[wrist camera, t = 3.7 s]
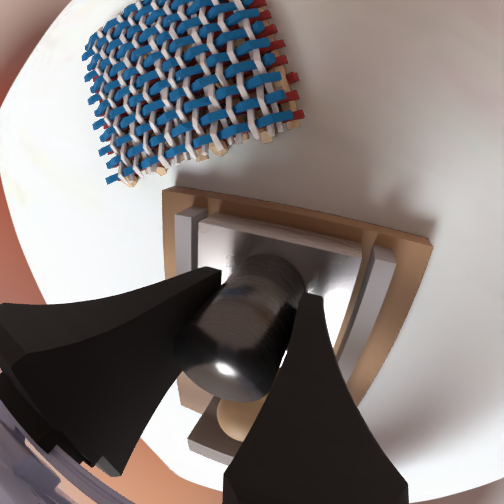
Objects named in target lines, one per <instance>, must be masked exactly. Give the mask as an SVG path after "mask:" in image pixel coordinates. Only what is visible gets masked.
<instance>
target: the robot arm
mask: <svg viewBox="0 0 504 504" xmlns="http://www.w3.org/2000/svg"><path fill="white" fill-rule="evenodd" d="M221 284H222V270H219V269H216V268H212V267H208V266H205V267H201V268H197V269H194V270H192V271H189V272H186V273H183V274H180V275H178V276H175V277H172V278H169V279H167V280H164V281H161V282H158V283H155V284H152V285H149V286H146V287H143V288H140V289H136V290H133V291H130V292H127V293H123V294H119V295H115V296H110V297H106V298H101V299H96V300H89V301H82V302H75V303H66V304H50V305H28V304H13V303H2V304H0V368H1V370H2V371H3V372H2V373H1V374H0V504H78V503H76V502H75V501H74V500H72V499H71V498H70V497H69V496H68V495H66V494H65V493H64V492H63V491H62V490H60V489H59V488H58V487H57V485H58V484H59V483H60V482H61V480H60V478H59V477H58V476H57V475H56V473H55V472H54V471H53V470H52V469H51V468H50V467H48V465H46V463H44V462H43V461H42V460H41V459H40V458H39V457H38V456H37V455H36V454H35V453H34V452H33V451H32V450H31V449H29V448H28V447H27V446H26V445H25V437H26V438H27V439H28V441H29V442H30V443H31V444H32V445H33V446H34V447H35V448H36V450H38V452H39V453H40V454H41V455H42V456H43V457H44V458H45V459H46V460H47V461H48V462H49V463H50V464H51V465H52V466H53V467H54V468H55V469H56V470H58V471H59V472H60V473H61V474H62V475H63V476H64V477H65V478H66V479H68V480H69V481H70V482H71V483H72V484H73V485H75V486H76V487H77V488H78V489H79V490H81V491H82V492H83V493H84V494H86V495H87V496H88V497H90V498H91V499H92V500H93V501H95V502H96V503H97V504H135V503H133V502H132V501H130V500H128V499H127V498H125V497H124V496H122V495H120V494H119V493H117V492H116V491H114V490H113V489H111V488H110V487H109V486H107V485H106V484H104V483H103V482H102V481H100V480H99V479H97V478H96V477H95V476H93V475H92V474H91V473H89V472H88V471H87V470H86V469H84V468H83V467H82V466H81V465H80V463H82V461H84V462H85V463H86V464H88V465H89V466H90V467H91V468H92V467H94V466H97V467H98V468H99V469H101V470H102V471H103V472H105V473H106V474H108V475H109V476H111V477H117V476H121V475H122V473H123V471H124V468H125V466H126V464H127V462H128V460H129V458H130V456H131V454H132V452H133V449H134V448H135V445H136V444H137V442H138V440H139V438H140V436H141V434H142V433H143V431H144V429H145V427H146V425H147V424H148V422H149V420H150V419H151V417H152V415H153V413H154V412H155V410H156V408H157V407H158V405H159V404H160V402H161V400H162V399H163V397H164V396H165V394H166V392H167V391H168V389H169V388H170V387H171V385H172V384H173V382H174V381H175V380H176V379H177V377H178V376H179V375H180V374H181V372H182V371H183V370H182V369H181V367H180V366H179V364H178V362H177V360H176V358H175V355H174V350H173V344H174V339H175V337H176V335H177V334H178V333H179V331H180V330H181V329H182V328H183V327H184V326H185V325H186V324H187V323H188V321H189V320H190V319H191V318H192V317H193V316H194V315H195V314H196V313H197V311H198V310H199V309H200V308H201V307H202V306H203V305H204V304H205V303H206V301H207V300H208V299H209V298H210V297H211V296H212V295H213V294H214V293H215V291H216V290H217V289H218V288H219V287H220V286H221ZM222 504H409V496H408V483H407V482H406V481H405V479H404V478H403V477H402V476H401V474H400V473H399V472H398V471H397V469H396V468H395V467H394V465H393V464H392V463H391V462H390V460H389V459H388V458H387V456H386V455H385V453H384V452H383V450H382V449H381V447H380V446H379V444H378V443H377V441H376V440H375V438H374V437H373V435H372V433H371V432H370V430H369V428H368V426H367V424H366V423H365V421H364V419H363V417H362V415H361V414H360V412H359V410H358V408H357V407H356V405H355V403H354V400H353V398H352V396H351V394H350V392H349V390H348V388H347V385H346V383H345V380H344V378H343V376H342V373H341V370H340V368H339V365H338V362H337V359H336V356H335V353H334V350H333V346H332V343H331V339H330V335H329V331H328V327H327V322H326V316H325V309H324V299H323V297H322V296H319V295H315V294H311V293H307V292H303V294H302V296H301V298H300V300H299V303H298V307H297V312H296V316H295V320H294V325H293V329H292V333H291V337H290V341H289V345H288V349H287V353H286V355H285V358H284V360H283V362H282V365H281V367H280V369H279V372H278V374H277V376H276V378H275V380H274V383H273V385H272V387H271V389H270V391H269V393H268V395H267V398H266V400H265V402H264V404H263V406H262V408H261V410H260V411H259V413H258V415H257V417H256V419H255V421H254V423H253V425H252V427H251V429H250V430H249V432H248V434H247V436H246V438H245V439H244V441H243V443H242V445H241V446H240V448H239V450H238V451H237V453H236V455H235V456H234V458H233V460H232V461H231V463H230V465H229V466H228V468H227V469H226V471H225V473H224V477H223V503H222Z"/></svg>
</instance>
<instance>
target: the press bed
mask: <svg viewBox="0 0 504 504" xmlns="http://www.w3.org/2000/svg"><path fill="white" fill-rule="evenodd" d="M215 212H220V213H225V214H230V215H235V216H240V217H245V218H250V219H255V220H260V221H265V222H269V223H274V224H279V225H284V226H288V227H293V228H298V229H302V230H307V231H311V232H316V233H320V234H324V235H329V236H333V237H338V238H342V239H346V240H350V241H355V242H359V243H361V249H362V260H361V264H360V268H359V271H358V274H357V278H356V281H355V284H354V288H353V291H352V294H351V297H350V300H349V304H348V307H347V310H346V313H345V316H344V318H343V321H342V324H341V327H340V330H339V333H338V335H337V338H336V341H335V344H334V346H333V350H334V353H335V356H336V359H337V362H338V365H339V368H340V370H341V373H342V376H343V378H344V380H345V383H346V385H347V388H348V390H349V392H350V394H351V396H352V398H353V400H354V403H355V405H356V407H357V406H358V405H359V403H360V401H361V400H362V398H363V397H364V395H365V393H366V392H367V390H368V389H369V387H370V385H371V384H372V382H373V380H374V378H375V377H376V375H377V373H378V372H379V370H380V368H381V366H382V364H383V363H384V361H385V359H386V357H387V355H388V353H389V351H390V349H391V347H392V346H393V344H394V342H395V340H396V338H397V336H398V333H399V331H400V329H401V327H402V325H403V323H404V321H405V319H406V316H407V314H408V312H409V310H410V307H411V305H412V303H413V300H414V298H415V296H416V293H417V291H418V288H419V286H420V283H421V280H422V278H423V275H424V272H425V270H426V267H427V264H428V261H429V258H430V255H431V252H432V249H433V246H432V244H431V243H430V241H429V240H428V238H424V237H420V236H417V235H413V234H409V233H406V232H402V231H398V230H394V229H390V228H386V227H382V226H378V225H374V224H370V223H366V222H362V221H357V220H353V219H349V218H345V217H340V216H336V215H331V214H327V213H322V212H317V211H313V210H308V209H303V208H298V207H293V206H288V205H283V204H278V203H273V202H267V201H262V200H257V199H251V198H245V197H240V196H234V195H228V194H222V193H216V192H209V191H203V190H196V189H190V188H183V187H176V186H174V187H171V188H168V189H165V190H162V219H163V248H164V267H165V280H167V279H169V278H172V277H175V276H178V275H180V274H183V273H186V272H189V271H192V270H194V269H197V268H198V224H199V222H200V221H201V220H203V219H205V218H207V217H208V216H210V215H212V214H214V213H215ZM279 369H280V367H279ZM278 372H279V370H278ZM278 372H277V374H278ZM276 376H277V375H276ZM275 378H276V377H275ZM274 380H275V379H274ZM273 383H274V382H273ZM177 384H178V390H179V396H180V402H181V405H182V406H185V407H187V408H189V409H191V410H194V411H196V412H198V413H201V414H202V416H201V418H200V419H199V421H198V422H197V424H196V426H195V427H194V429H193V430H192V432H191V433H190V435H189V437H188V438H187V439H188V444H189V448H190V450H191V451H193V452H196V453H198V454H200V455H203V456H205V457H207V458H210V459H212V460H215V461H217V462H220V463H223V464H225V465H228V466H229V465H230V463H231V461H232V460H233V458H234V456H235V455H236V453H237V451H238V450H239V448H240V446H241V445H242V443H243V442H242V441H238V440H235V439H233V438H232V437H230V436H228V435H227V434H226V433H225V432H224V431H223V430H222V428H221V426H220V425H219V422H218V419H217V407H218V404H219V402H220V400H221V398H219V397H216V396H214V395H212V394H210V393H208V392H206V391H205V390H203V389H202V388H200V387H199V386H197V385H196V384H195V383H194V382H193V381H192V380H191V379H190V378H188V376H187V375H186V374H185V373H184V372H183V371H182V372H181V374H180V375H179V376H178V377H177ZM272 385H273V384H272Z"/></svg>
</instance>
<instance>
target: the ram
mask: <svg viewBox="0 0 504 504" xmlns="http://www.w3.org/2000/svg"><path fill="white" fill-rule="evenodd" d="M361 260H362V249H361V243H359V242H355V241H350V240H346V239H342V238H338V237H333V236H329V235H324V234H320V233H316V232H311V231H307V230H302V229H298V228H293V227H288V226H284V225H279V224H274V223H269V222H265V221H260V220H255V219H250V218H245V217H240V216H235V215H230V214H225V213H220V212H215V213H214V214H212V215H210V216H208V217H207V218H205V219H203V220H201V221H200V222H199V224H198V268H201V267H205V266H208V267H212V268H216V269H219V270H222V284H221V286H220V287H219V288H218V289H217V290H216V291H215V293H214V294H213V295H212V296H211V297H210V298H209V299H208V300H207V301H206V303H205V304H204V305H203V306H202V307H201V308H200V309H199V310H198V311H197V313H196V314H195V315H194V316H193V317H192V318H191V319H190V320H189V321H188V323H187V324H186V325H185V326H184V327H183V328H182V329H181V330H180V331H179V333H178V334H177V335H176V337H175V339H174V344H173V350H174V355H175V358H176V360H177V362H178V364H179V366H180V367H181V369H182V370H183V372H184V373H185V374H186V375H187V376H188V378H190V379H191V380H192V381H193V382H194V383H195V384H196V385H197V386H199V387H200V388H202V389H203V390H205V391H206V392H208V393H210V394H212V395H214V396H216V397H219V398H222V399H225V400H229V401H233V402H253V401H256V400H259V399H261V398H263V397H264V396H266V395H267V394H268V392H269V391H270V389H271V387H272V384H273V382H274V379H275V377H276V375H277V372H278V370H279V367H281V365H282V362H283V360H284V358H285V355H286V353H287V349H288V345H289V341H290V337H291V333H292V329H293V325H294V320H295V316H296V312H297V307H298V303H299V300H300V298H301V296H302V294H303V292H307V293H311V294H315V295H319V296H322V297H323V299H324V309H325V316H326V322H327V327H328V331H329V335H330V339H331V343H332V346H334V344H335V341H336V338H337V335H338V333H339V330H340V327H341V324H342V321H343V318H344V316H345V313H346V310H347V307H348V304H349V300H350V297H351V294H352V291H353V288H354V284H355V281H356V278H357V274H358V271H359V268H360V264H361Z"/></svg>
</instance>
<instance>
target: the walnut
mask: <svg viewBox="0 0 504 504" xmlns="http://www.w3.org/2000/svg"><path fill="white" fill-rule="evenodd" d="M268 393H269V392H268ZM267 395H268V394H267ZM267 395H266V396H264V397H263V398H261V399H259V400H256V401H253V402H233V401H229V400H225V399H222V398H221V400H220V402H219V404H218V407H217V419H218V422H219V425H220V426H221V428H222V430H223V431H224V432H225V433H226V434H227V435H228V436H230V437H232V438H233V439H235V440H238V441H242V442H243V441H244V439H245V438H246V436H247V434H248V432H249V430H250V429H251V427H252V425H253V423H254V421H255V419H256V417H257V415H258V413H259V411H260V410H261V408H262V406H263V404H264V402H265V400H266V398H267Z"/></svg>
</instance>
